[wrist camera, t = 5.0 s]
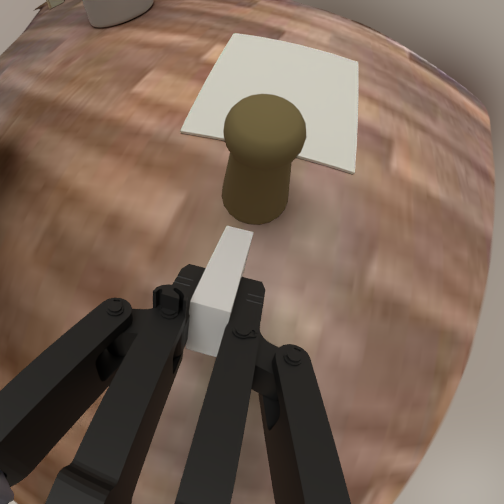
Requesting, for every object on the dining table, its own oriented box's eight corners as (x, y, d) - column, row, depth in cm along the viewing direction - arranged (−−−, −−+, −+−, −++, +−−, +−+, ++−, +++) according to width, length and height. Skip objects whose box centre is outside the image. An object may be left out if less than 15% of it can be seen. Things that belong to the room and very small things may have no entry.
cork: (208, 203, 25) (194, 126, 15) (243, 155, 27) (249, 69, 16) (268, 237, 25) (291, 173, 14) (299, 184, 26) (333, 106, 16)
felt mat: (353, 174, 27) (354, 172, 27) (180, 133, 27) (180, 130, 27) (357, 64, 32) (358, 62, 32) (233, 35, 32) (234, 33, 32)
